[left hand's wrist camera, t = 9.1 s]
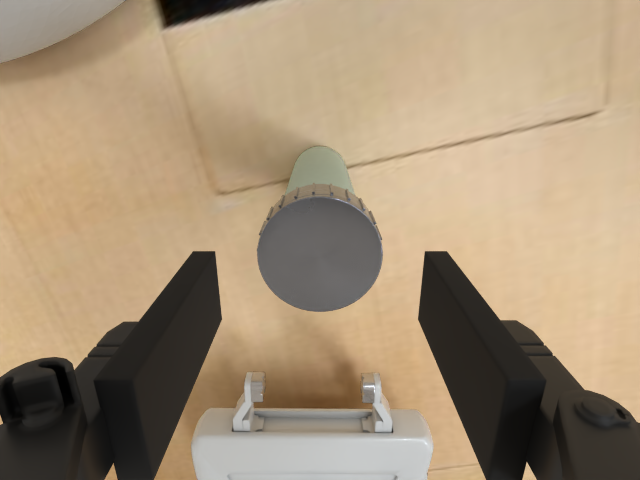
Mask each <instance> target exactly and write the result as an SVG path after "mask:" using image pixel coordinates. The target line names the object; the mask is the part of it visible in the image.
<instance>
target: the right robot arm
mask: <svg viewBox="0 0 640 480" xmlns="http://www.w3.org/2000/svg"><path fill="white" fill-rule="evenodd" d="M265 388H266V381H265V372H247V374H246V378H245V383H244V393H243V394H242V395H241V397H240V398H239V400H238V401H237V405H236V408H209V409H207V410H206V411H205V412H204V413H203V415H202V416H201V417H200V419H199V421H198V423H197V426H196V428H195V431H194V434H193V438H192V442H191V453H192V460H193V465H194V469H195V473H196V477H197V480H427V476H428V472H427V471H428V468H429V465H430V462H431V458H432V453H433V440H432V436H431V432H430V429H429V426H428V423H427V421H426V419H425V418H424V417H423V415H422V414H421V413H420V412H419V411H418V410H415V409H390V407H389V403H388V401H387V399H386V398H385V396H384V395H383V393H382V392H381V380H380V375H379V373H361V385H360V388H361V393H362V403H372V404H373V405H372V409H318V408H254V404H253V402H263V399H264V393H265Z"/></svg>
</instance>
